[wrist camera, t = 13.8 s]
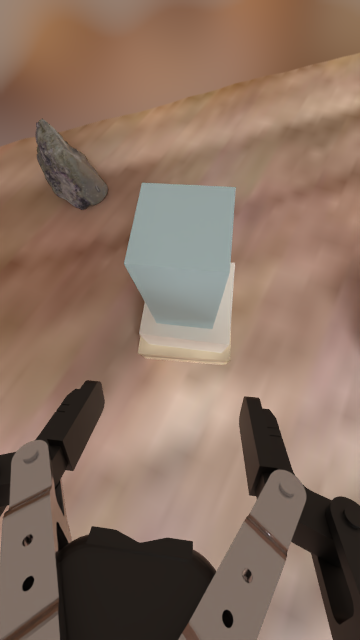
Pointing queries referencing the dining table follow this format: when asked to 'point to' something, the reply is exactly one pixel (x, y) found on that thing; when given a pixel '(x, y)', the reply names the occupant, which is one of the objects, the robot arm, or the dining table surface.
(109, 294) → the dining table surface
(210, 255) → the pillar block
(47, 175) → the mineral rock
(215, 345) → the tower top slab
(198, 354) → the tower bottom slab
